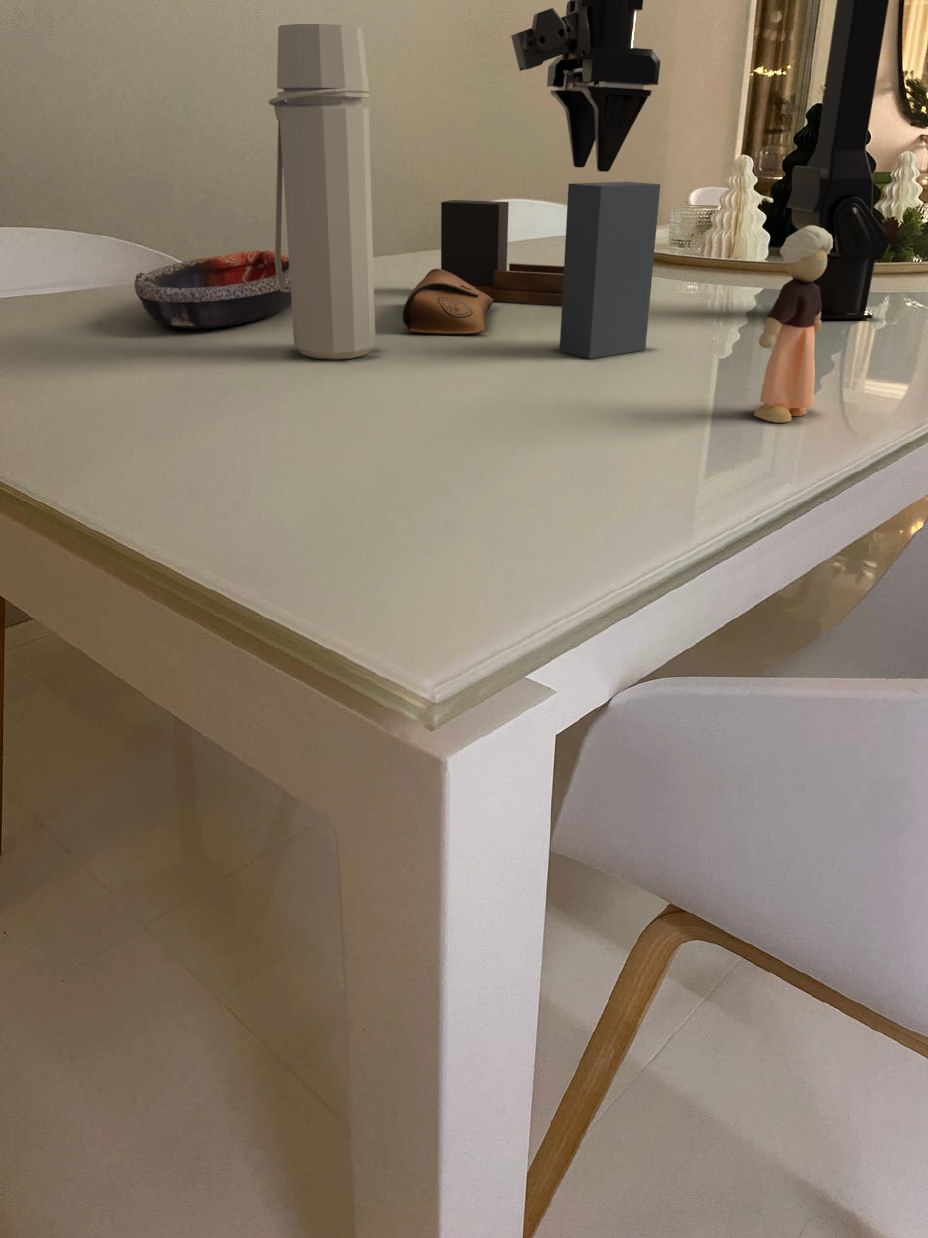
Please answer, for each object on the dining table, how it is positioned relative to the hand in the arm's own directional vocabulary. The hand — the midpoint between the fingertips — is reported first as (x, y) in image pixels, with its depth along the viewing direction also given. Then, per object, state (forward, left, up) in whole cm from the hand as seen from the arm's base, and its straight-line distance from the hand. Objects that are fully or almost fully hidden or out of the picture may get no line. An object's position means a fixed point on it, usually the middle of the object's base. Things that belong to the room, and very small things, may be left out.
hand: (590, 169), depth 100 cm
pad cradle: (+5, -16, -15) cm, 22 cm away
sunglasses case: (+14, -1, -15) cm, 20 cm away
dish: (+37, -7, -15) cm, 40 cm away
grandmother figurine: (-6, +39, -15) cm, 42 cm away
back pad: (+2, +16, -15) cm, 22 cm away
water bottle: (+27, +15, -15) cm, 34 cm away
